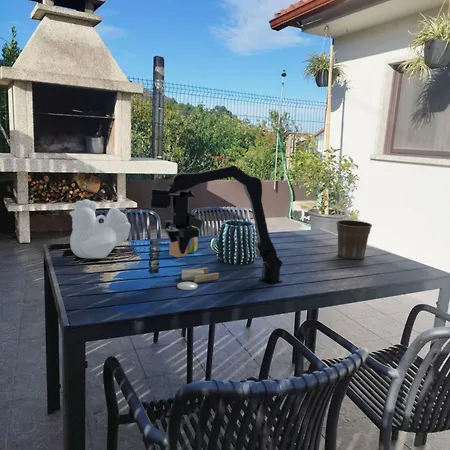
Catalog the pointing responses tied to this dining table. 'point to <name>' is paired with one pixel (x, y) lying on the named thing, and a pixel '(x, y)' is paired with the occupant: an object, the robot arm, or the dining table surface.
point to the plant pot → (352, 238)
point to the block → (176, 250)
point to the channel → (205, 276)
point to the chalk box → (192, 244)
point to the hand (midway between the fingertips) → (179, 252)
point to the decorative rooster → (96, 230)
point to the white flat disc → (187, 285)
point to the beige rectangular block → (191, 274)
